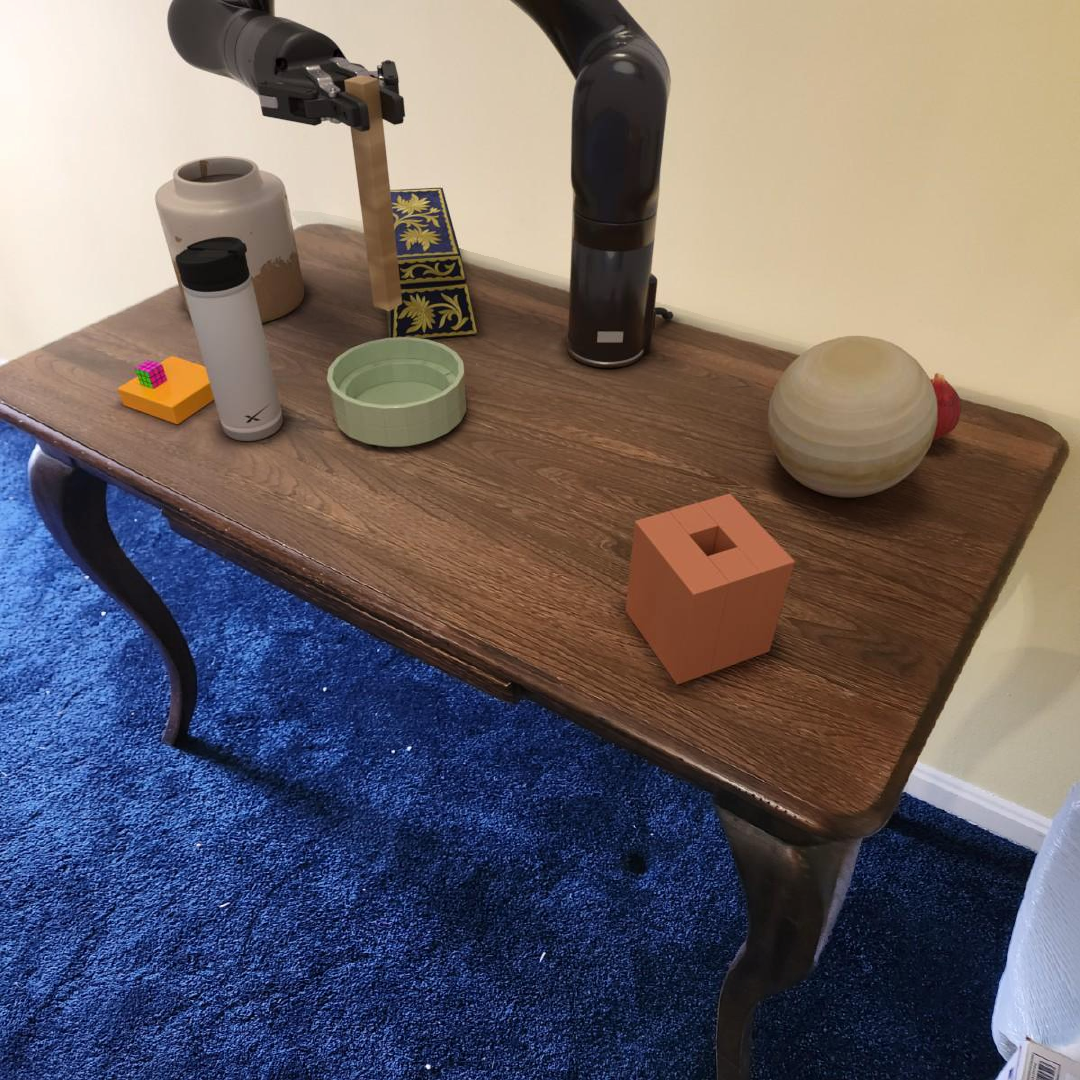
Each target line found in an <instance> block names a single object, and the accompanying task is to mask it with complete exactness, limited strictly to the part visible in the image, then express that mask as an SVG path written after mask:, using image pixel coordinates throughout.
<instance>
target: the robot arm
mask: <svg viewBox="0 0 1080 1080" xmlns="http://www.w3.org/2000/svg"><path fill="white" fill-rule="evenodd" d="M275 1H276V0H172V1H171V2H170V5H169V7H168V11H167V15H166V16H167V18H166V24H167V32H168V36H169V38H170V41H171V43H172V46H173V48H174V50H175V52H176V53H177V54H178V55H179V57H181V59H182V60H183V61H184V62H185V63H187V64H188V65H189V66H191V67H193V68H195V69H198V70H200V71H204V72H206V73H209V74H213V75H217V76H219V77H220V76H221V77H225V78H227V79H231V80H234V81H236V82H238V83H239V84H241V85H242V86H244V87H246V88H247V89H249V90H251V91H253V93H255V94H256V95H257V97H258V98H259V99H258V100H259V103H260V110H261V114H262V116H263V117H267V118H272V119H278V120H282V121H287V122H288V121H289V122H294V123H297V124H298V123H299V124H303V125H309V126H314V127H316V126H318V125H321V124H322V123H323V122H326V121H327V122H328V121H329V123H332V124H335V125H339V124H344V125H345V126H348V127H349V128H350V127H353V128H355V129H356V130H358V131H360V132H363V131H367V130H369V129H370V121H369V113H368V106H367V104H366V102H365V101H363V100H361V99H359V98H357V97H355V96H353V95H351V94H349V93H347V92H346V90H345V82H344V81H345V80H347V79H350V78H353V77H356V76H359V75H363V76H367V77H372V78H377V79H378V80H379V89H380V90H379V91H380V100H381V109H382V119H383V121H386V122H388V123H389V124H391V125H393V126H396V125H400V124H401V125H402V124H403V123H404V118H405V117H406V110H405V98H404V96H402V95H400V86H399V83H400V80H399V74H398V69H397V65H396V62H395V61H393V60H390V59H386V60H384V61H381V62H380V64H379V65H376V70H370V71H369V70H368V69H367V68H366V67H365V66H364V65H362V64H361V63H355V62H350V61H349V60H348V59H347V57H346V56H345V54H344V52H343V51H342V50H341V48H340V47H339V45H338V44H337V43H336V42H335V41H334V40H333V39H331V37H329V36H328V35H326V34H325V33H322V32H320V31H317V30H315V29H313V28H310V27H308V26H306V25H304V24H302V23H299V22H296V21H294V20H292V19H289V18H286V17H282V16H276V6H275V5H276V4H275V3H276V2H275ZM509 1H510V2H511V3H512V4H513V5H515V6H516V7H517V8H518V9H520V10H521V11H522V12H523V13H524V14H526V15H527V16H528V17H529V18H530V19H531V20H532V22H534V23H535V25H537V27H538V28H539V29H540V30H541V31H542V32H543V34H544V35H545V36H546V37H547V39H548V40H549V41H550V43H551V45H552V46H553V47H554V49H555V50H556V52H557V53H558V54H559V56H560V58H561V59H562V60H563V63H564V64H565V66H566V67H567V69H568V70H569V72H570V74H571V75H572V77H573V79H574V80H575V82H574V83H575V84H574V86H573V87H574V88H573V93H572V100H571V101H572V102H571V125H570V126H571V129H570V131H571V132H570V184H571V189H572V208H571V209H572V210H571V211H572V212H571V213H572V214H571V242H570V243H571V245H570V268H569V270H570V271H569V299H568V301H569V302H568V326H567V327H568V329H567V339H566V351H567V353H568V354H569V356H570V357H571V358H573V359H574V360H575V361H577V362H579V363H581V364H584V365H586V366H590V367H595V368H601V369H602V368H605V369H611V368H612V369H613V368H614V369H615V368H621V367H626V366H630V365H631V364H634V363H636V362H638V361H640V359H641V358H642V357H643V355H647V354H650V353H651V347H652V338H653V330H655V326H656V325H655V324H656V316H661V317H662V318H663V320H665V321H669V320H671V319H673V318H674V313H673V311H672V310H671V311H668V309H666V308H665V307H659V306H657V307H656V302H657V301H656V300H657V290H658V278H657V276H656V275H654V274H653V273H652V269H653V259H654V258H653V256H654V249H655V241H656V240H655V239H656V230H657V229H656V227H657V218H658V208H659V199H660V189H661V172H662V171H661V170H662V161H663V150H664V139H665V132H666V120H667V112H668V110H667V109H668V104H669V98H670V96H671V95H670V94H671V84H672V83H671V82H672V77H671V71H670V66H669V64H668V61H667V59H666V56H665V55H664V53H663V52H662V49H661V48H660V47H659V46H658V44H657V43H656V42H655V41H654V40H653V38H652V37H651V36H650V35H649V34H648V33H647V31H646V30H645V29H644V28H643V27H642V26H641V25H640V24H639V23H638V22H637V21H636V19H635V18H634V17H633V16H632V15H631V13H630V12H629V11H628V10H627V9H626V8H625V6H624V5H623V4H622V3H621V1H620V0H509Z"/></svg>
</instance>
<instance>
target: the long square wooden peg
mask: <svg viewBox="0 0 1080 1080" xmlns="http://www.w3.org/2000/svg"><path fill="white" fill-rule="evenodd" d="M344 82H345V90H346V92H347V93H349V94H351V95H353V96H355V97H357V98H359V99H361V100H363V101H365V102H366V104H367V106H368V113H369V121H370V129H369V130H367V131H363V132H360V131H358V130H356V129H355V128H353V127H350V126H349V128H350V135H351V136H350V137H351V142H352V150H353V158H354V159H353V160H354V165H355V173H356V174H355V175H356V180H357V181H356V182H357V188H358V197H359V204H360V211H361V218H362V220H361V221H362V229H363V234H364V235H363V236H364V243H365V249H366V258H367V265H368V273H369V280H370V288H371V289H370V290H371V296H372V305H373V307H376V308H379V309H380V310H384V311H386V312H387V311H391V310H392V309H394V308H396V307H397V306H399V305H401V304H402V297H401V287H400V278H399V269H398V259H397V250H396V240H395V231H394V221H393V212H392V202H391V193H390V190H391V186H390V185H391V184H390V175H389V166H388V156H387V146H386V138H385V136H386V135H385V129H384V128H385V127H384V119H382V109H381V100H380V91H379V90H380V89H379V80H378V79H377V78H372V77H367V76H363V75H359V76H356V77H353V78H350V79H347V80H345V81H344Z"/></svg>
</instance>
